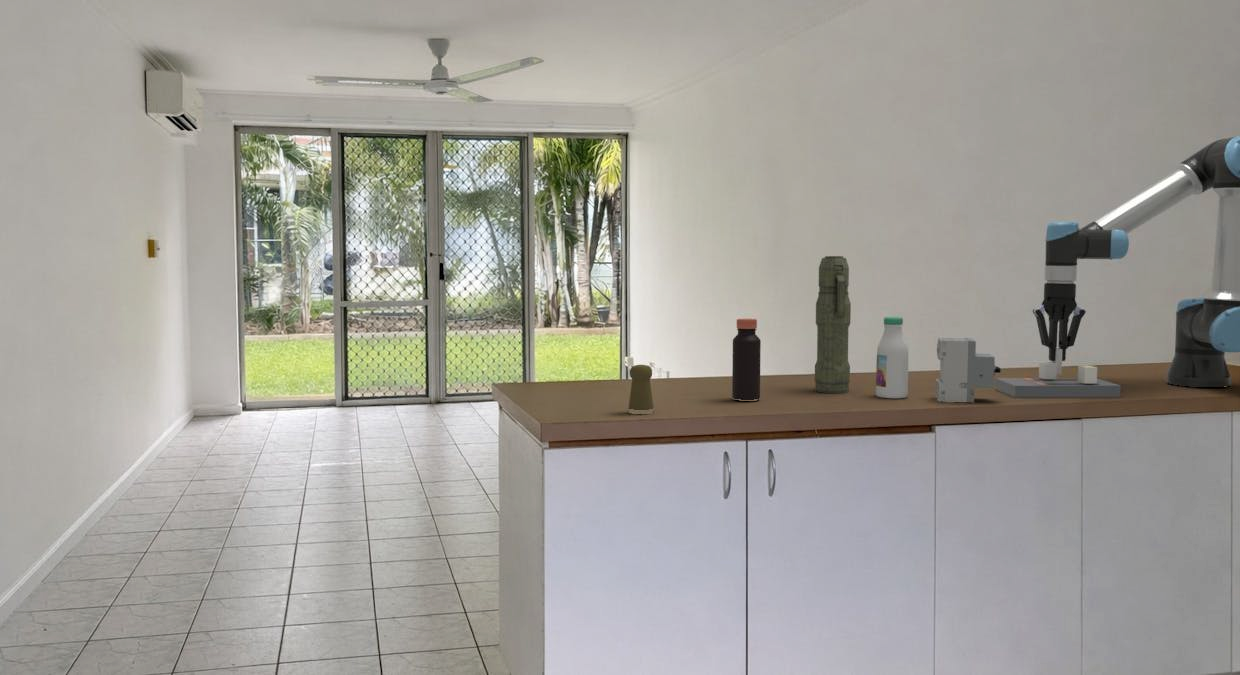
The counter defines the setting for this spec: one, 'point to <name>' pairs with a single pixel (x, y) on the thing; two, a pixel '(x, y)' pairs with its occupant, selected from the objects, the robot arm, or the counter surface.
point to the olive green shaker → (641, 388)
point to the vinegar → (746, 361)
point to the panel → (1056, 388)
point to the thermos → (833, 326)
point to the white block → (1087, 374)
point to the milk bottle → (892, 361)
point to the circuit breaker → (962, 370)
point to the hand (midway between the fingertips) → (1056, 373)
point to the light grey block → (1048, 370)
